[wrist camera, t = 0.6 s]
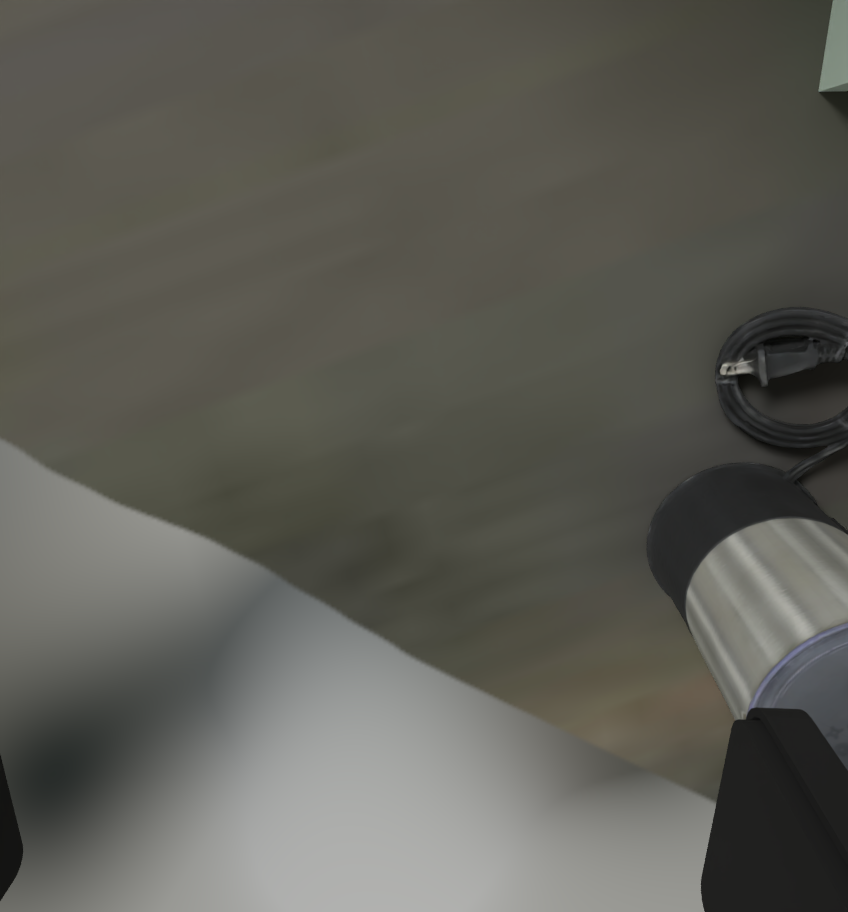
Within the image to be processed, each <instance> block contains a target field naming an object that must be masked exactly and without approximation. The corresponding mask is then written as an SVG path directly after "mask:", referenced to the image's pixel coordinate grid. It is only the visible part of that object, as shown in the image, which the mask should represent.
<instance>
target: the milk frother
mask: <svg viewBox="0 0 848 912" xmlns="http://www.w3.org/2000/svg"><path fill="white" fill-rule="evenodd" d="M782 336H804V337H803V338H796V339H795V338H784V339H773V338H777V337H782ZM770 339H772V340H770ZM814 339H817V340H818V341H816V340H814ZM842 360H847V361H848V319H847V318H845V317H842V316H840V315H837V314H834V313H831V312H828V311H825V310H820V309H814V308H807V307H789V308H781V309H777V310H773V311H769V312H766V313H762V314H760V315H758V316H756V317H754V318H752V319H750V320H748V321H747V322H745V323H743V324H742V325H741V326H740V327H738V328H737V329H736V330H735V331H733V333H732V334H731V335H730V336H729V337H728V339H727V340H726V342H725V343H724V345H723V347H722V349H721V351H720V353H719V356H718V359H717V363H716V370H715V383H716V386H717V392H718V395H719V401H720V404H721V406H722V408H723V410H724V412H725V414H726V415H727V416H728V418H729V419H730V420H731V421H732V422H733V423H734V424H735V425H737V426H738V427H739V428H740V429H742V430H743V431H745V432H746V433H747V434H749V435H751V436H752V437H754V438H755V439H758V440H760V441H763V442H766V443H768V444H771V445H776V446H781V447H790V448H812V447H819V446H828V447H827V448H825V449H823V450H822V451H820V452H818V453H817V454H815V455H813V456H811V457H809V458H807V459H805V460H803V461H801V462H800V463H798V464H797V465H795V466H794V467H793V468H792V469H790V470H789V471H788V472H786V473H785V472H783V471H782V470H779V469H777V468H774V467H771V466H767V465H763V464H757V463H730V464H724V465H720V466H716V467H713V468H710V469H707V470H704V471H702V472H700V473H698V474H696V475H694V476H692V477H691V478H689V479H688V480H686V481H684V482H682V483H681V484H680V485H679V486H678V487H677V488H676V489H675V490H674V491H672V492H671V493H670V494H669V495H668V496H667V497H666V498H665V499H664V501H663V502H662V503H661V505H660V506H659V508H658V509H657V511H656V513H655V515H654V517H653V520H652V522H651V524H650V529H649V532H648V537H647V557H648V562H649V565H650V568H651V571H652V572H653V575H654V577H655V579H656V581H657V582H658V584H659V585H660V587H661V588H662V589H663V590H664V591H665V593H667V594H668V595H669V596H670V597H671V598H672V600H673V602H674V604H675V605H676V607H677V609H678V610H679V612H680V614H681V615H682V617H683V619H684V621H685V622H686V624H687V627H688V629H689V631H690V633H691V635H692V636H693V638H694V640H695V642H696V644H697V646H698V648H699V651H700V653H701V655H702V657H703V659H704V660H705V662H706V664H707V666H708V668H709V670H710V672H711V674H712V676H713V678H714V680H715V682H716V684H717V686H718V687H719V689H720V691H721V693H722V695H723V697H724V699H725V701H726V703H727V705H728V707H729V709H730V711H731V713H732V715H733V716H734V718H735V720H738V719H743V720H746V717H747V714H748V712H749V711H750V709H751V708H755V707H758V708H783V709H801V710H803V711H805V712H807V714H808V715H809V716H810V717H811V718H812V719H813V721H814V722H815V724H816V725H817V727H818V728H819V730H820V731H821V733H822V734H823V735H824V737H825V738H826V740H827V741H828V743H829V744H830V746H831V747H832V749H833V750H834V751H835V753H836V754H837V756H838V757H839V759H840V760H841V762H842V763H843V765H844V766H845V767H846V769H847V770H848V531H847V530H846V529H845V528H844V527H843V526H841V525H840V524H839V523H838V522H837V521H836V520H835V519H833V518H830V517H828V516H827V515H826V514H825V513H824V512H823V511H822V510H821V509H820V508H819V507H818V505H817V502H816V500H815V499H814V498H813V497H812V496H811V495H810V493H809V492H808V491H807V489H806V488H805V487H804V486H803V485H801V483H800V482H799V481H798V480H797V479H798V478H799V477H800V476H801V475H802V474H804V473H805V472H806V471H807V470H809V469H810V468H811V467H813V466H814V465H816V464H817V463H819V462H820V461H822V460H824V459H825V458H827V457H829V456H830V455H832V454H833V453H835V452H836V451H838V450H840V449H842V448H844V447H846V446H847V445H848V407H847V408H846V409H845V410H843V411H842V412H841V413H839V414H838V415H837V416H835V417H833V418H831V419H828V420H826V421H823V422H819V423H816V424H810V425H809V424H791V423H785V422H781V421H778V420H775V419H772V418H770V417H768V416H766V415H764V414H762V413H761V412H759V411H758V410H756V409H755V408H754V407H753V406H752V405H751V404H750V403H749V402H748V401H747V400H746V398H745V397H744V395H743V394H742V392H741V390H740V387H739V384H738V377H739V376H741V375H744V374H752V375H754V376H755V377H757V378H758V379H759V381H760V382H761V386H762V387H767V386H768V381H769V380H770V379H772V378H777V377H783V376H787V375H790V374H793V373H796V372H799V371H802V370H805V369H811V370H813V369H815V367H816V366H817V365H818V364H820V363H825V362H834V363H840V362H841V361H842Z"/></svg>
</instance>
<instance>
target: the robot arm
mask: <svg viewBox="0 0 848 912" xmlns="http://www.w3.org/2000/svg"><path fill="white" fill-rule="evenodd" d="M22 856H23V844H22V840H21V836H20V832H19V828H18V824H17V820H16V816H15V812H14V808H13V804H12V800H11V796H10V792H9V788H8V784H7V780H6V776H5V772H4V768H3V764H2V760H1V756H0V901H1V899H2V898H3V896H4V894H5V893H6V891H7V890H8V888H9V887H10V885H11V884H12V882H13V881H14V879H15V877H16V875H17V873H18V870H19V868H20V865H21V861H22ZM701 894H702V902H703V907H704V911H705V912H848V770H847V769H846V767H845V766H844V765H843V763H842V762H841V760H840V759H839V757H838V756H837V754H836V753H835V751H834V750H833V749H832V747H831V746H830V744H829V743H828V741H827V740H826V738H825V737H824V735H823V734H822V733H821V731H820V730H819V728H818V727H817V725H816V724H815V722H814V721H813V719H812V718H811V717H810V716H809V715H808V714H807V712H805V711H803V710H801V709H783V708H758V707H755V708H751V709H750V711H749V712H748V714H747V717H746V720H743V719H738V720H736V721H735V722H734V723H733V726H732V729H731V734H730V739H729V744H728V749H727V754H726V759H725V764H724V769H723V774H722V779H721V784H720V789H719V794H718V799H717V803H716V809H715V814H714V818H713V824H712V828H711V833H710V838H709V843H708V849H707V853H706V858H705V864H704V868H703V873H702V879H701Z"/></svg>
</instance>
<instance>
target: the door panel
mask: <svg viewBox="0 0 848 912" xmlns="http://www.w3.org/2000/svg"><path fill="white" fill-rule="evenodd" d="M830 91H848V0H833V3H832V9H831V16H830V22H829V28H828V35H827V41H826V47H825V53H824V60H823V66H822V72H821V79H820V85H819V91H818V92H830Z"/></svg>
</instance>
